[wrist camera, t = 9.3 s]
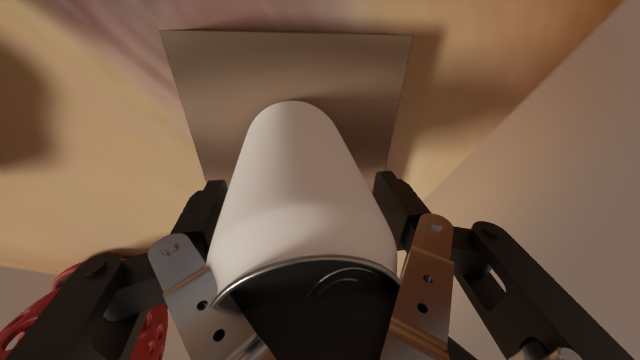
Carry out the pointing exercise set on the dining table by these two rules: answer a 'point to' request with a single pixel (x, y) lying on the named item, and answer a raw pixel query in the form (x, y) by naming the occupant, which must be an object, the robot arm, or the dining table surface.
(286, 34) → the walnut stand
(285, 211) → the can
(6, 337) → the plant pot
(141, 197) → the dining table surface
